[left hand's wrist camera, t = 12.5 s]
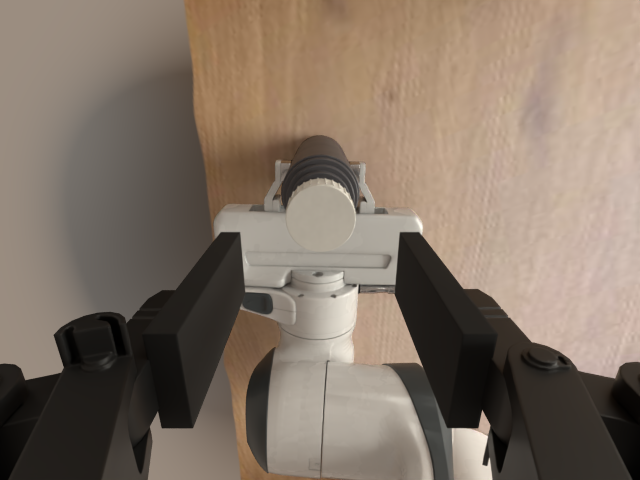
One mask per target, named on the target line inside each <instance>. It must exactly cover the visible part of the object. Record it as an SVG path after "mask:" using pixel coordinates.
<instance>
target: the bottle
mask: <svg viewBox="0 0 640 480" xmlns="http://www.w3.org/2000/svg"><path fill="white" fill-rule="evenodd" d="M317 178H319V179H325V178H326V179H328V180H331V181H332V180H333V181H334V182H336V183H340V185H341V186H342V187H343V188H344V187H345V189H346V191H347V193H349V194H350V197H351V200H353V203H354V206H355V207H354V208H355V210H356V208H357V205H358V202H359V195H360V190H359V184H358V180H357V178H356V176H355V174H354V172H353V170H352V168H351V166H350V164H349V162H348V160H347V158H346V156H345V154H344V152H343V150H342V148H341V146H340V145H339V144H338V143H337V142H336V141H335V140H333V139H332V138H330V137H327V136H313V137H310V138H308V139H307V140H305V141H304V142H303V143H302V144H301V145H300V147H299V148H298V150H297V152H296V154H295V157H294V159H293V161H292V163H291V165H290V167H289V169H288V171H287V173H286V175H285V178H284V180H283V183H282V188H281V197H282V203H283V206H284V208H285V210H286V208H287V205H288V201H289V198H291V196H292V193H293V191H295V190H296V189H297V187H298V186H300V185H302V184H303V182H307V181H310V179H311V180H313V179H317Z"/></svg>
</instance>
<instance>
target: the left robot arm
mask: <svg viewBox="0 0 640 480" xmlns="http://www.w3.org/2000/svg"><path fill="white" fill-rule="evenodd" d="M394 294H395V297H396V299H397V302H398V304H399V307H400V309H401V312H402V314H403V317H404V320H405V322H406V325H407V327H408V330H409V332H410V335H411V337H412V340H413V343H414V345H415V348H416V350H417V353H418V355H419V358H420V360H421V363H422V366H423V368H424V371H425V373H426V376H427V378H428V381H429V383H430V386H431V389H432V391H433V394H434V396H435V399H436V401H437V404H438V406H439V409H440V411H441V414H442V417H443V419H444V422H445V424H446V427H447V428H478V427H479V422H480V418H481V413H482V410H483V412H484V414H485V416H486V417H487V419H488V421H489V423H490V425H491V426H490V430H489V435H488V439H487V443H486V448H485V452H484V457H483V463H482V465H484V466H488V462H489V458H490V464H491V472H492V480H640V362H630V363H625V364H623V365H622V366H620V368H619V370H618V373H617V376H616V379H614V378H609V377H604V376H599V375H594V374H589V373H584V372H580V371H578V370H577V368H576V366H575V365H574V364H573V363H572V361H571V360H570V359H569V358H567V357H566V356H565V355H563V354H562V353H560V352H559V351H557V350H554V349H552V348H550V347H548V346H545V345H541V344H537V343H532V342H531V341H530V340H529V339H528V338H527V337H526V335H525V334H524V333H523V332H522V331H521V330H520V329H519V327H518V326H517V325H516V324H515V323H514V322H513V321H512V320H511V318H508V315H507V314H506V313H505V312H504V311H503V309H501V307H500V306H499V305H498V304H497V303H496V302H495V300H494V299H493V298H492V297H490V296H488V295H487V294H485V293H483V292H482V291H480V290H478V289H463V288H462V287H461V285H460V284H459V283H458V281H457V280H456V279H455V278H454V276H453V275H452V274H451V272H450V271H449V270H448V269H447V267H446V266H445V265H444V263H443V262H442V261H441V259H440V258H439V257H438V256H437V254H436V253H435V252H434V250H433V249H432V248H431V247H430V245H429V244H428V243H427V241H426V240H425V239H424V238H423V236H422V235H421V234H420V232H400V234H399V246H398V258H397V270H396V282H395V293H394ZM244 297H245V282H244V270H243V258H242V246H241V234H240V232H220V234H219V235H218V236H217V238H216V239H215V240H214V241H213V243H212V244H211V245H210V247H209V248H208V249H207V250H206V252H205V253H204V254H203V256H202V257H201V258H200V259H199V261H198V262H197V263H196V265H195V266H194V267H193V269H192V270H191V271H190V272H189V274H188V275H187V276H186V278H185V279H184V280H183V282H182V283H181V284H180V285H179V287H178V288H177V289H176V290H162V291H160V292H159V293H157V294H155V295H154V296H152V297H150V298H149V299H148V300H147V301H146V302H145V303H144V304H143V305H142V307H141V308H140V310H139V311H137V312H136V313H135V314H134V316H133V317H132V319H130V320H129V321H128V322H127V324H126V320H125V317H123V316H122V315H121V314H119V313H113V312H102V313H95V314H90V315H86V316H83V317H80V318H78V319H75V320H73V321H71V322H69V323H68V324H66V325H64V326H63V327H61V328H60V329H59V330H58V331H57V332H56V333H55V334H54V338H55V341H56V344H57V347H58V350H59V353H60V357H61V360H62V363H63V366H64V369H63V371H62V373H58V374H54V375H49V376H44V377H39V378H35V379H30V380H25V379H24V376H23V373H22V371H21V368H19V367H18V366H16V365H14V364H0V480H148V473H149V465H150V457H151V449H152V435H151V430H150V425H151V423H152V421H153V419H154V417H155V416H156V414H157V412H158V413H159V418H160V422H161V427H162V428H193V427H194V424H195V422H196V419H197V417H198V414H199V411H200V409H201V406H202V404H203V401H204V399H205V396H206V394H207V391H208V388H209V386H210V383H211V381H212V378H213V376H214V373H215V371H216V368H217V366H218V363H219V360H220V358H221V355H222V353H223V350H224V348H225V345H226V343H227V340H228V337H229V335H230V332H231V330H232V327H233V325H234V322H235V320H236V317H237V314H238V312H239V309H240V307H241V304H242V302H243V299H244Z"/></svg>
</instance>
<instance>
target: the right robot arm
mask: <svg viewBox="0 0 640 480" xmlns="http://www.w3.org/2000/svg"><path fill="white" fill-rule="evenodd" d="M291 163H292V160H276V161H275V181H274V182H273V184H272V186H271V188H270V190H269V191H268V193H267V195H266V197H265V198H264V204H227V205H225V206H224V207H223V208H222V209H221V210H220V211H219V212H218V214H217V215H216V217H215V219H214V223H213V226H214V236H215V239H216V238H217V236H218V235H219V234H220V232H240V234H241V246H242V258H243V270H244V282H245V297H244V299H243V302H242V304H241V307H240V309H241V310H245V311H248V312H251V313H255V314H258V315H261V316H264V317H267V318H270V319H273V320H275V321H277V323H278V327H279V330H280V340H279V343H278V347H277V348H276V347H274V348H273V349H272V350H271V351H270V352H269V353H268V354H267V355H266V356H265V357H264V358H263V359H262V360H261V362H260V363H259V364H258V365H257V366H256V368H255V369H254V371H253V373H252V375H251V378H250V381H249V385H248V389H247V395H246V434H247V443H248V445H249V447H250V449H251V451H252V453H253V455H254V457H255V459H256V460H257V462H258V463H259V465H260V466H261V467H262V468H263V470H264V471H266V472H267V473H272V474H277V475H285V476H295V477H305V478H317V479H320V478H321V469H322V478H330V479H342V480H492V472H491V464H490V458H489V462H488V466H484V465H482V463H483V457H484V452H485V448H486V443H487V439H488V436H486V435H484V434H483V433H481V432H478V431H476V430H472V429H467V428H447V427H446V424H445V422H444V419H443V417H442V414H441V411H440V409H439V406H438V404H437V401H436V399H435V396H434V394H433V391H432V389H431V386H430V383H429V381H428V378H427V376H426V373H425V371H424V368H423V367H421V366H420V365H419V364H417V363H392V364H382V365H377V364H361V363H353V361H354V345H353V342H352V333H353V331H354V328H355V325H356V318H357V304H358V294H359V293H383V292H384V293H388V294H394V293H395V282H396V270H397V258H398V246H399V234H400V232H420V234H421V235H422V231H423V224H422V221H421V220H420V218H419V217H418V215H417V214H416V213H415V212H414V211H413V210H412V209H410V208H406V207H375V201H374V199H373V197H372V195H371V193H370V191H369V189H368V187H367V185H366V183H365V168H366V167H365V163H364V162H349V164H350V166H351V168H352V170H353V172H354V174H355V176H356V178H357V180H358V184H359V187H360V189H361V191H362V193H363V195H364V197H363V196H359V202H358V206H357V208H356V210H355V211H356V214H355V216H356V221H355V227H354V230H353V232H352V234H351V236H350V237H349V239H348V240H347V241H346V242H345V243H344V244H342V245H341V246H340V247H338V248H336V249H334V250H330V251H326V252H315V251H311V250H308V249H305V248H303V247H302V246H300V245H299V244H297V243H296V242H295V241H294V240H293V238H292V237H291V236H290V234H289V232H288V229H287V226H286V219H285V217H286V210H285V208H284V206H283V205H281V195H275V194H276V192H277V190H278V188H279V187H280V185H281V183H282V182H283V180H284V178H285V175H286V173H287V171H288V169H289V167H290V165H291Z"/></svg>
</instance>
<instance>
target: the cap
mask: <svg viewBox="0 0 640 480" xmlns="http://www.w3.org/2000/svg"><path fill="white" fill-rule="evenodd" d="M354 207H355V206H354V203H353V200H351V197H350V194H349V193H347V191H346V189H345V187H344V188H343V187H342V186H341V185H340V183H336V182H334V181H333V180H332V181H331V180H328V179H326V178H325V179H319V178H317V179H313V180H311V179H310V181H307V182H303V184H302V185H300V186H298V187H297V189H296V190H295V191H293V193H292V196H291V198H289V201H288V205H287V208H286V217H285V219H286V226H287V229H288V232H289V234H290V236H291V237H292V238H293V240H294V241H295V242H296V243H297V244H299V245H300V246H302V247H303V248H305V249H308V250H311V251H315V252H326V251H330V250H334V249H336V248H338V247H340V246H341V245H342V244H344V243H345V242H346V241H347V240H348V239H349V237H350V236H351V234H352V232H353V230H354V227H355V221H356V216H355V214H356V211H355V208H354Z"/></svg>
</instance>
